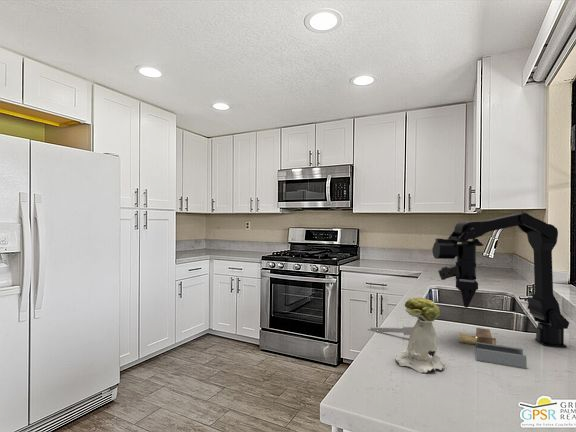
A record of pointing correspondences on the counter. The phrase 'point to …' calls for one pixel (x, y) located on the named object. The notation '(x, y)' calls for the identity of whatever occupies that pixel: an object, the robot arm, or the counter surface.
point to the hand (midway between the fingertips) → (465, 306)
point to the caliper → (393, 330)
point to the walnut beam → (484, 336)
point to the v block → (501, 355)
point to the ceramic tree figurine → (421, 337)
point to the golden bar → (470, 339)
